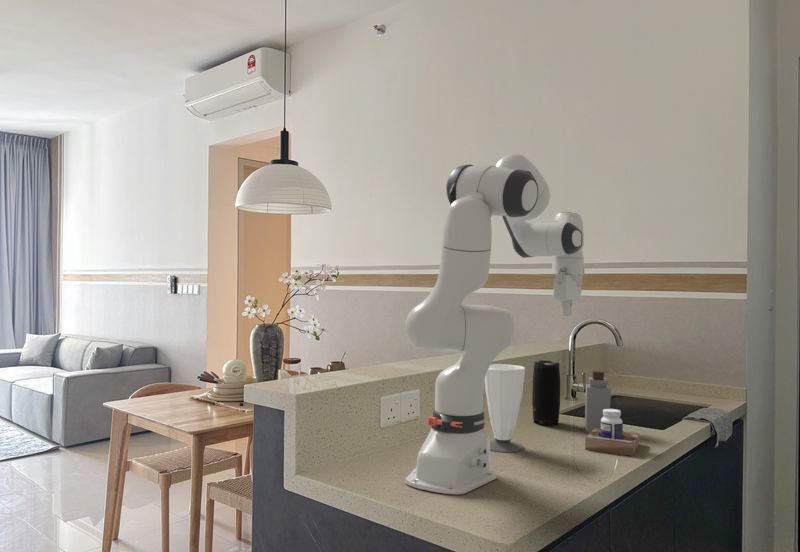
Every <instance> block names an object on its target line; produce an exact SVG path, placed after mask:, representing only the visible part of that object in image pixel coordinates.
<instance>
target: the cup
mask: <svg viewBox="0 0 800 552" xmlns="http://www.w3.org/2000/svg"><path fill="white" fill-rule="evenodd" d="M525 374H526V367H525V366H522V365H516V364H509V363H507V364H506V363H504V364H503V363H491V365H490V367H489V369H488V371H487V374H486V377H485V381H484V390H485V395H486V396H485V397H486V403H487V409H488V410H487V411H488V416H489V420H490V425H491V429H492V433H493V437H494V440H493V439H492V440H489V441H490V452H495V453H496V452H497V453H507V454H509V453H517V452H521V451H523V450H525V446H524V445H523V444H521V443H518V442H515V441H512V438H513V435H514V433H515V428H516V426H517V421H518V416H519V412H520V406H521V402H522V397H523V390H524V383H525V382H524V381H525V376H526V375H525Z"/></svg>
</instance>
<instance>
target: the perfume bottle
mask: <svg viewBox="0 0 800 552" xmlns="http://www.w3.org/2000/svg"><path fill="white" fill-rule="evenodd" d="M591 373H592V376H588V377H587V378H588V383H585V395H584V397H585V398H584V399H585V400H584V401H585V403H584V404H585V405H584V406H585V408H584V415H585V416H584V429H585V433H587V434H588V433H589V434H590V433H591V432H592V430H593V429H594V428H600V429H601V419H602V418H603V417H604V415H603V410H604V409H611V404H612V403H611V400H612V399H611V398H612V395H611V394H612V389H611V387H610V385H608V383H609V380H608V378H607V377H605V371H604V370H591Z"/></svg>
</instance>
